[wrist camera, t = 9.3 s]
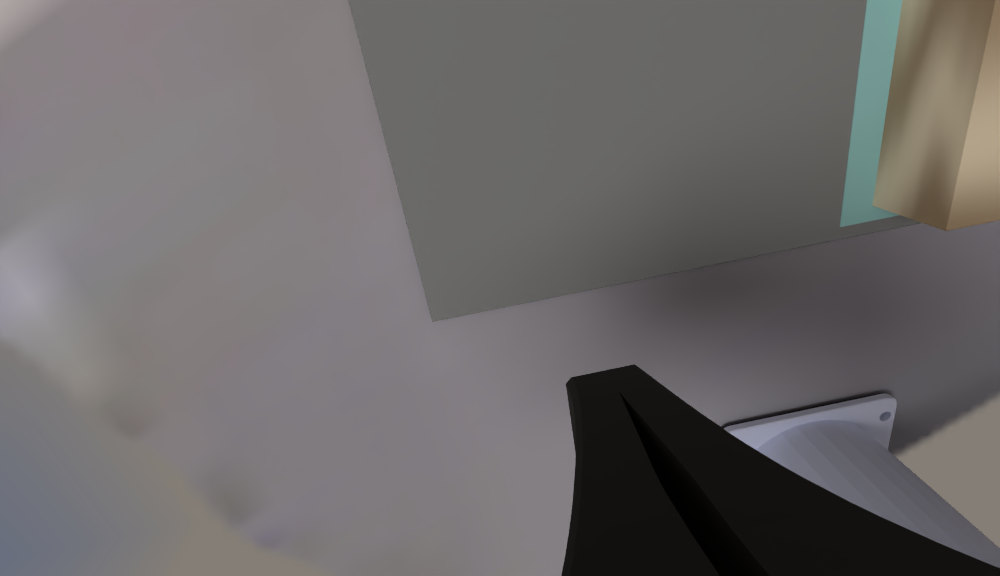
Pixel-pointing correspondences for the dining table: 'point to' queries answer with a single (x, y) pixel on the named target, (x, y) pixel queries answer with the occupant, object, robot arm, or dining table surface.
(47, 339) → the dining table surface
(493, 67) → the push mat
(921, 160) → the t block
